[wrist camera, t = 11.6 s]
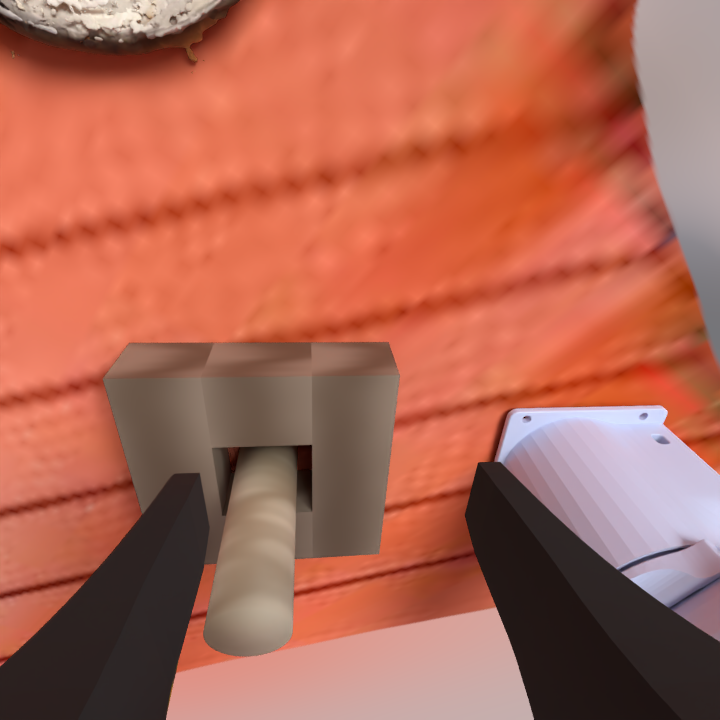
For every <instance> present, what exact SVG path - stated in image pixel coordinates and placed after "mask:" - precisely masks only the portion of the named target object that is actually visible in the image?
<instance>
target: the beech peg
mask: <svg viewBox="0 0 720 720" xmlns="http://www.w3.org/2000/svg"><path fill="white" fill-rule="evenodd" d="M297 462H298V445H289V446H255V447H240V450H239V455H238V460H237V465H236V470H235V475H234V480H233V485H232V490H231V495H230V500H229V505H228V510H227V515H226V520H225V525H224V530H223V535H222V541H221V546H220V551H219V556H218V561H217V566H216V571H215V576H214V581H213V586H212V591H211V596H210V601H209V606H208V611H207V616H206V621H205V626H204V632H203V636H204V640H205V641H206V643H207V644H208V645H209V646H210V647H211V648H213V649H214V650H216V651H218V652H221V653H224V654H228V655H233V656H258V655H263V654H267V653H270V652H273V651H275V650H277V649H279V648H281V647H282V646H284V645H285V644H286V643H287V642H288V641H289V640H290V638H291V636H292V632H293V601H294V566H295V531H296V497H297Z"/></svg>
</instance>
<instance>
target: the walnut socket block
mask: <svg viewBox="0 0 720 720" xmlns="http://www.w3.org/2000/svg"><path fill="white" fill-rule="evenodd" d="M399 378H400V374H399V371H398V368H397V366H396V363H395V360H394V357H393V354H392V351H391V348H390V345H389V342H354V343H129V344H128V346H127V347H126V348H125V350H124V351H123V352H122V354H121V355H120V356H119V358H118V359H117V360H116V362H115V363H114V364H113V366H112V367H111V368H110V370H109V371H108V372H107V374H106V375H105V376H104V378H103V382H104V385H105V388H106V392H107V395H108V399H109V402H110V406H111V409H112V412H113V416H114V419H115V423H116V426H117V430H118V433H119V436H120V440H121V443H122V447H123V450H124V453H125V457H126V460H127V464H128V467H129V471H130V474H131V477H132V481H133V484H134V488H135V491H136V495H137V498H138V501H139V505H140V508H141V512H142V514H143V513H144V512H145V511H146V509H147V508H148V507H149V505H150V504H151V503H152V501H153V500H154V499H155V497H156V496H157V495H158V493H159V492H160V491H161V489H162V488H163V487H164V485H165V484H166V482H167V481H168V480H169V478H170V477H171V476H172V475H173V474H176V473H200V477H201V482H202V488H203V493H204V499H205V504H206V510H207V515H208V521H209V526H210V530H209V537H208V543H207V550H206V556H205V562H204V564H217V561H218V556H219V551H220V546H221V541H222V535H223V530H224V525H225V520H226V515H227V510H228V505H229V500H230V495H231V490H232V485H233V480H234V475H235V473H231V467H230V459H229V451H228V447H255V446H289V445H312V470H297V497H296V531H295V559H304V558H321V557H337V556H354V555H370V554H379V550H380V542H381V533H382V524H383V516H384V507H385V499H386V490H387V481H388V473H389V464H390V456H391V447H392V438H393V430H394V421H395V413H396V404H397V395H398V387H399Z"/></svg>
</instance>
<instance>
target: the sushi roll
mask: <svg viewBox="0 0 720 720" xmlns="http://www.w3.org/2000/svg"><path fill="white" fill-rule="evenodd" d="M239 1H240V0H0V23H1V24H3V25H5V26H7V27H8V28H10V29H11V30H13V31H15V32H17V33H19V34H21V35H23V36H25V37H28V38H30V39H33V40H35V41H38V42H41V43H44V44H46V45H50V46H54V47H58V48H64V49H69V50H75V51H81V52H87V53H94V54H104V55H138V54H146V53H149V52H152V51H156V50H159V49H164V48H169V47H178V48H180V47H183V48H185V49H186V52H187V54H188V57H189V59H190V60H192V61H194V62H198V58H197V57H196V56H195V55H194V54H193V51H192V50H191V48H190V46H191V44H192V43H197V42H200V41H202V39H203V36H202V34H203V32H204V31H205V30H206V29H208V28H210V27H211V26H213V25H215V24H216V23H217V20H219V19H222V18H225V17H226V15H227V12H228V9H229V8H230V7H231V6H233V5H234V4H236V3H237V2H239ZM11 52H12V57H13V58H14V57H15V54H14V51H11ZM18 56H20V55H18ZM13 58H12V59H13ZM203 61H204V60H203ZM194 72H195V71H194Z"/></svg>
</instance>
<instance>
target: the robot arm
mask: <svg viewBox="0 0 720 720" xmlns="http://www.w3.org/2000/svg"><path fill="white" fill-rule="evenodd" d="M667 413H668V412H667V410H666V409H665V408H664V407H662V406H659V405H655V406H609V407H562V408H517V409H513V410H511V411H510V412H509V413H508V415H507V417H506V421H505V424H504V428H503V432H502V435H501V439H500V442H499V446H498V450H497V453H496V457H495V460H494V462H479V463H478V465H477V469H476V473H475V477H474V481H473V485H472V489H471V493H470V497H469V501H468V505H467V509H466V513H465V517H466V521H467V525H468V529H469V533H470V537H471V541H472V544H473V548H474V551H475V554H476V557H477V559H478V562H479V565H480V567H481V570H482V572H483V575H484V577H485V580H486V582H487V585H488V587H489V590H490V592H491V595H492V597H493V600H494V602H495V605H496V607H497V610H498V612H499V615H500V617H501V620H502V622H503V625H504V627H505V630H506V632H507V635H508V637H509V640H510V643H511V645H512V648H513V651H514V654H515V657H516V660H517V663H518V666H519V670H520V673H521V676H522V679H523V683H524V686H525V689H526V692H527V696H528V699H529V703H530V706H531V710H532V713H533V717H534V720H720V475H719V474H718V473H717V472H716V471H714V470H713V469H712V468H711V467H710V466H709V465H708V464H707V463H706V462H704V461H703V460H702V459H701V458H700V457H699V456H698V455H697V454H696V453H694V452H693V451H692V450H691V449H690V448H689V447H688V446H687V445H686V444H684V443H683V442H682V441H681V440H680V439H679V438H678V437H677V436H675V435H674V434H673V433H672V432H671V431H670V430H669V429H668V428H667V427H665V426H664V425H663V422H664V420H665V418H666V416H667ZM525 416H527V417H526V418H524V419H523V417H525ZM209 530H210V526H209V521H208V515H207V510H206V504H205V499H204V493H203V488H202V482H201V477H200V473H176V474H173V475H172V476H171V477H170V478H169V480H168V481H167V482H166V484H165V485H164V487H163V488H162V489H161V491H160V492H159V493H158V495H157V496H156V497H155V499H154V500H153V501H152V503H151V504H150V505H149V507H148V508H147V509H146V511H145V512H144V513H143V514H142V516H141V517H140V518H139V520H138V521H137V522H136V523H135V525H134V526H133V527H132V528H131V530H130V531H129V532H128V533H127V534H126V536H125V537H124V538H123V539H122V541H121V542H120V543H119V544H118V545H117V547H116V548H115V549H114V550H113V552H112V553H111V554H110V555H109V556H108V557H107V559H106V560H105V561H104V562H103V563H102V564H101V565H100V566H99V568H98V569H97V570H96V571H95V572H94V573H93V574H92V575H91V577H90V578H89V579H88V580H87V581H86V582H85V583H84V584H83V586H82V587H81V588H80V589H79V590H78V591H77V592H76V593H75V594H74V595H73V596H72V597H71V598H70V599H69V600H68V602H67V603H66V604H65V605H64V606H63V607H62V608H61V609H60V610H59V611H58V612H57V613H56V614H55V615H54V616H53V617H52V618H51V619H50V620H49V621H48V622H47V623H46V624H45V625H44V626H43V627H42V628H41V629H40V630H39V631H38V632H37V633H36V634H35V635H34V636H33V637H32V638H31V639H29V640H28V641H27V642H26V643H25V644H24V645H23V646H22V647H21V648H20V649H19V650H18V651H17V652H16V653H14V654H13V655H12V656H11V657H10V658H9V659H8V660H7V661H6V662H5V663H4V664H3V665H2V666H1V667H0V720H166V715H167V710H168V704H169V699H170V694H171V689H172V685H173V680H174V676H175V672H176V668H177V664H178V660H179V657H180V653H181V649H182V646H183V642H184V638H185V635H186V631H187V628H188V624H189V620H190V617H191V613H192V609H193V606H194V602H195V598H196V595H197V591H198V587H199V584H200V580H201V576H202V572H203V568H204V562H205V556H206V550H207V543H208V537H209Z"/></svg>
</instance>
